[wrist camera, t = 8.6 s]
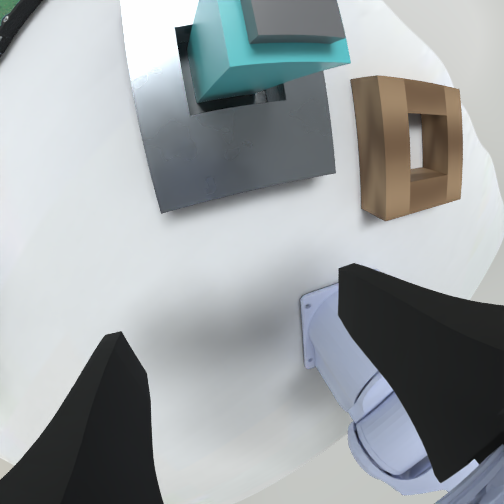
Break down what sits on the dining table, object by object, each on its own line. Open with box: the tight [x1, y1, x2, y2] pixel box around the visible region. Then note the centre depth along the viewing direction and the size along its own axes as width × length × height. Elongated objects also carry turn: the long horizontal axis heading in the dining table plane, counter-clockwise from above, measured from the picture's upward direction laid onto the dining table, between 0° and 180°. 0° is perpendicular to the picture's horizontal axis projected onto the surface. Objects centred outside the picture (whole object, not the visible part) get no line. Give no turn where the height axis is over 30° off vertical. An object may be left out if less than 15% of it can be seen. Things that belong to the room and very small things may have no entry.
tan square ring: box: [351, 75, 463, 221], centre depth 18 cm, size 10×10×3 cm
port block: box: [121, 0, 336, 214], centre depth 13 cm, size 14×10×3 cm
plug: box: [187, 0, 351, 103], centre depth 9 cm, size 4×4×11 cm
